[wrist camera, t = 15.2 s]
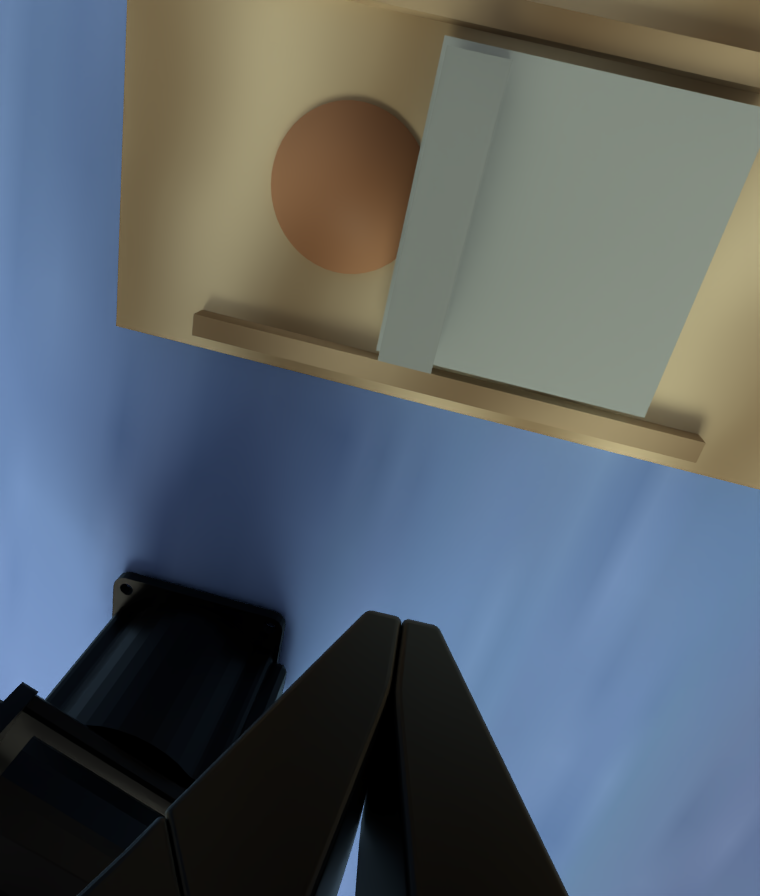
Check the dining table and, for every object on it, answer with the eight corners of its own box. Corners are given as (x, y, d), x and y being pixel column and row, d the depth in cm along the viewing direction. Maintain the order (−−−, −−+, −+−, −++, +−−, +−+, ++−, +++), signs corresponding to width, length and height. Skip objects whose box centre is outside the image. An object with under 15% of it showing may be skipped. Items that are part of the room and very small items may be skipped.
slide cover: (380, 343, 17) (359, 378, 14) (446, 42, 14) (437, 8, 11) (636, 407, 17) (670, 457, 14) (759, 113, 14) (835, 98, 11)
